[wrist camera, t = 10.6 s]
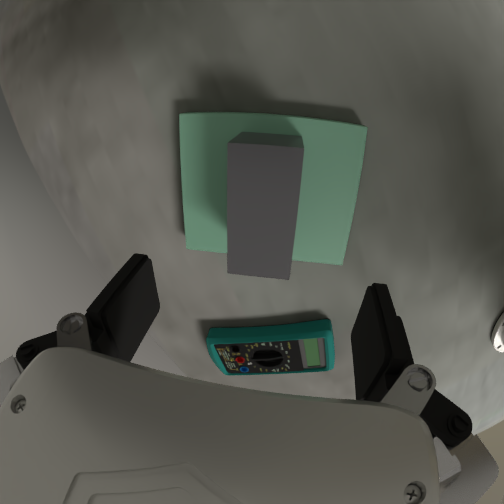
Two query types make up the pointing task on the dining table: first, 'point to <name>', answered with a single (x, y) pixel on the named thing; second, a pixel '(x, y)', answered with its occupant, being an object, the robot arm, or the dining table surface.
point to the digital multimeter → (273, 348)
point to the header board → (312, 181)
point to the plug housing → (262, 203)
